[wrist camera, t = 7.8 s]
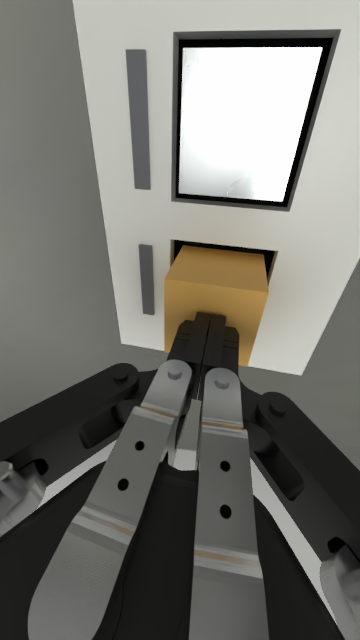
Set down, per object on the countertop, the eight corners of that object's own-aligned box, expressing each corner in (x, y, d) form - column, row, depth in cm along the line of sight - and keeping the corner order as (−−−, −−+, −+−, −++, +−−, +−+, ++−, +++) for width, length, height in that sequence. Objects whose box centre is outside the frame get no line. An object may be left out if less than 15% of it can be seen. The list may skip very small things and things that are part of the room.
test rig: (126, -17, 13) (54, -106, 8) (427, -31, 11) (570, -160, 6) (145, 303, 25) (120, 344, 20) (290, 326, 23) (301, 377, 18)
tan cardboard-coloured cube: (183, 245, 15) (164, 278, 12) (263, 254, 15) (268, 292, 11) (180, 309, 18) (164, 351, 15) (247, 319, 18) (247, 366, 14)
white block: (200, 71, 13) (183, 47, 9) (300, 73, 12) (322, 47, 8) (194, 179, 16) (178, 193, 12) (273, 185, 15) (282, 201, 11)
